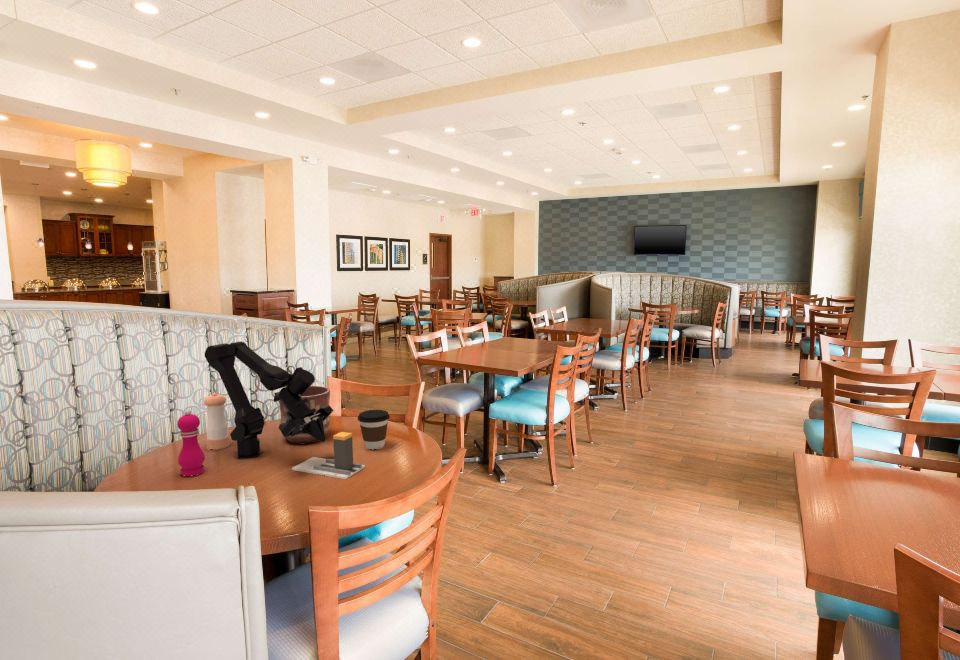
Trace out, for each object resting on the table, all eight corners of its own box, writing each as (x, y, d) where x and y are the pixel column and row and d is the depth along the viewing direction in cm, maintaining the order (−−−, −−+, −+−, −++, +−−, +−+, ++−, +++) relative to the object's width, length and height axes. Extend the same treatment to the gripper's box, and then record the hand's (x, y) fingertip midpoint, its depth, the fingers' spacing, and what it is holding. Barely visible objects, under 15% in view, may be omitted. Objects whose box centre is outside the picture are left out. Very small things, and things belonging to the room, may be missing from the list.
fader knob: (334, 470, 161) (333, 435, 159) (342, 465, 164) (341, 431, 163) (345, 472, 159) (344, 437, 158) (353, 467, 163) (352, 433, 162)
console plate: (292, 469, 163) (291, 464, 163) (313, 458, 172) (313, 454, 172) (345, 479, 156) (345, 474, 156) (364, 467, 165) (364, 462, 165)
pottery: (286, 450, 180) (284, 399, 178) (275, 436, 195) (273, 389, 192) (337, 441, 190) (336, 392, 187) (323, 428, 204) (321, 383, 202)
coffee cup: (356, 444, 186) (354, 411, 184) (386, 440, 190) (385, 407, 189) (361, 454, 176) (360, 419, 174) (394, 449, 180) (393, 415, 179)
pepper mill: (178, 479, 157) (173, 414, 154) (179, 471, 163) (174, 408, 160) (205, 474, 160) (201, 411, 157) (205, 466, 166) (201, 405, 164)
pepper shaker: (223, 449, 181) (219, 395, 179) (202, 449, 181) (198, 395, 179) (233, 442, 188) (230, 390, 186) (213, 442, 189) (209, 390, 186)
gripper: (301, 410, 177) (328, 446, 175) (259, 426, 160) (289, 467, 158) (319, 390, 174) (348, 427, 171) (278, 404, 156) (309, 445, 154)
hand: (324, 441), depth 163 cm, fingers closed
